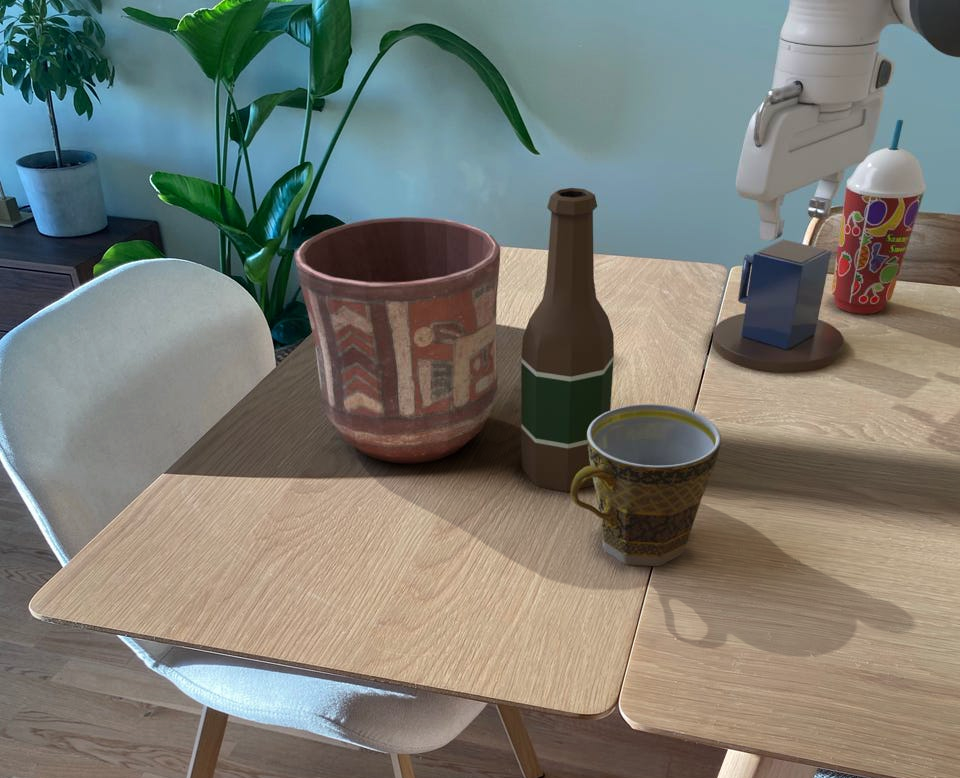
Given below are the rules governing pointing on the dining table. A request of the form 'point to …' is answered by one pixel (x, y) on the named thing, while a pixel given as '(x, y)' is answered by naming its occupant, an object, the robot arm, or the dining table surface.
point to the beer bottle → (565, 351)
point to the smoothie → (876, 227)
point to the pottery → (404, 332)
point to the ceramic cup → (648, 478)
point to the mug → (783, 292)
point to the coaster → (777, 348)
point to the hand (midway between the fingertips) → (794, 227)
